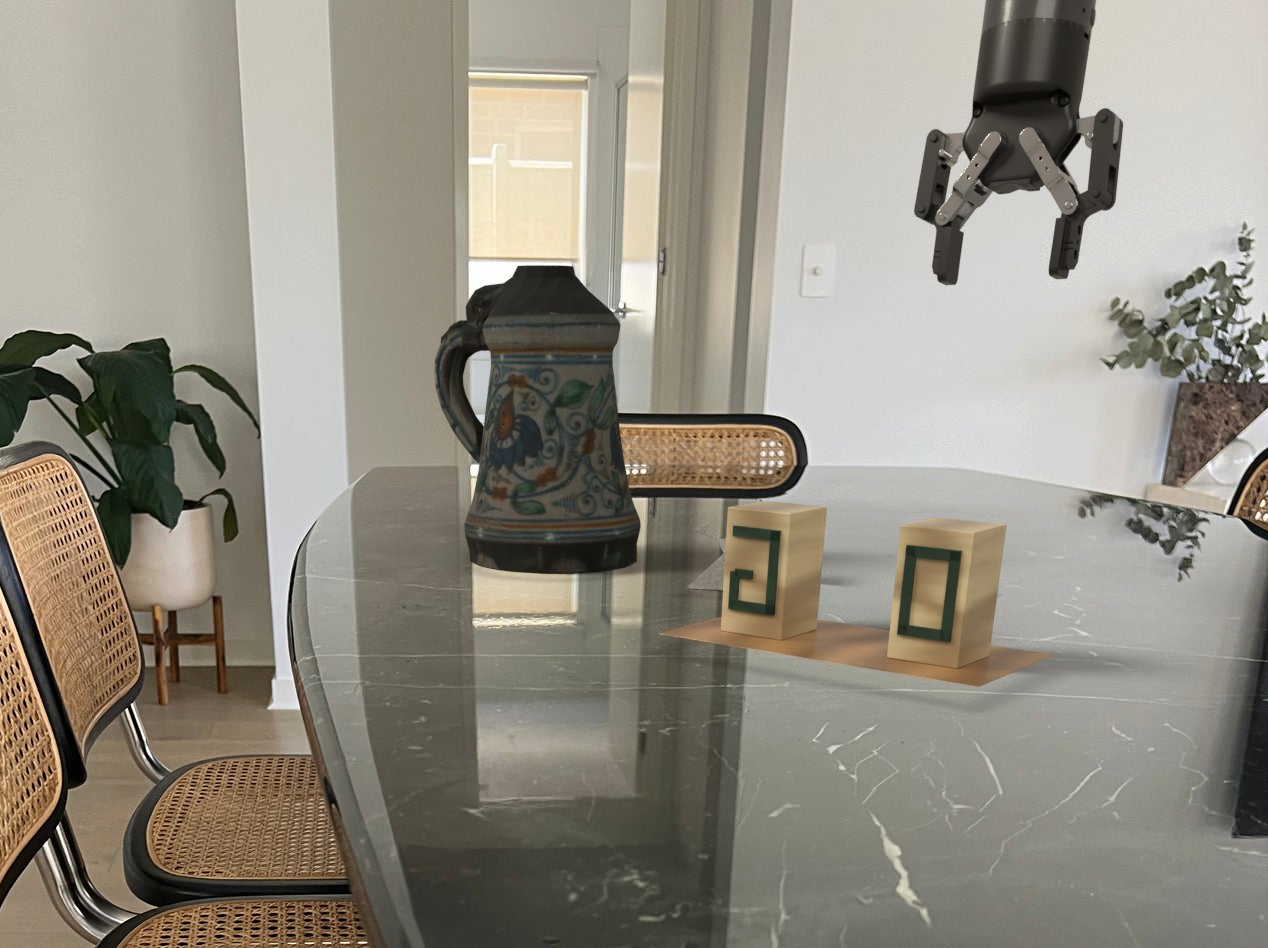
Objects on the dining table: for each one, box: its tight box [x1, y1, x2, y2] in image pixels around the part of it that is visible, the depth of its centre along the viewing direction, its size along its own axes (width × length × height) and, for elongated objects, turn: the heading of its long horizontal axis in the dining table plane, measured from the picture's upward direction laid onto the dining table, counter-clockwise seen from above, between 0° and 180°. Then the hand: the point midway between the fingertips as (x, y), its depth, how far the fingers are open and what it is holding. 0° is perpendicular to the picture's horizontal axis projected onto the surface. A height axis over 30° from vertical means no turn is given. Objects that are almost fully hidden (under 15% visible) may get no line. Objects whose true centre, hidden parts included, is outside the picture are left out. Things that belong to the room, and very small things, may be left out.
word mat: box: [658, 616, 1053, 688], centre depth 101 cm, size 24×12×1 cm, turn 51°
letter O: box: [887, 517, 1008, 669], centre depth 95 cm, size 5×5×8 cm
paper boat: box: [685, 498, 763, 591], centre depth 126 cm, size 12×6×9 cm
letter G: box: [721, 500, 828, 640], centre depth 103 cm, size 5×5×8 cm
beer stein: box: [433, 264, 641, 574], centre depth 133 cm, size 16×19×25 cm
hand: (1001, 280), depth 108 cm, fingers open, 8 cm apart
